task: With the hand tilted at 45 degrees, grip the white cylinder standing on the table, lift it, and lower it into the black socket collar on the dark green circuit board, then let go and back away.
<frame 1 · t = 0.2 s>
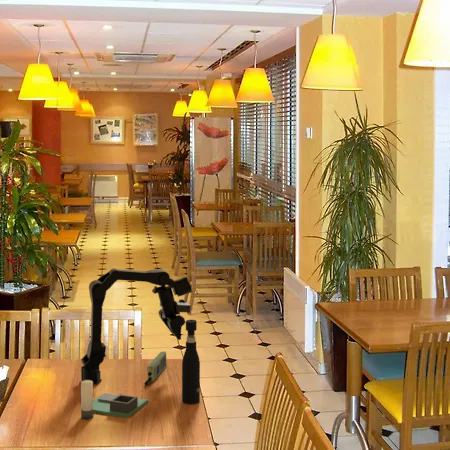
hand: (176, 336, 305), 15 cm above the table, tool pointing down, fingers open, 9 cm apart
handheld radio: (155, 376, 305), on the table
wine bottle: (190, 401, 277), on the table
white cylinder: (87, 417, 261), on the table
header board: (115, 406, 272), on the table
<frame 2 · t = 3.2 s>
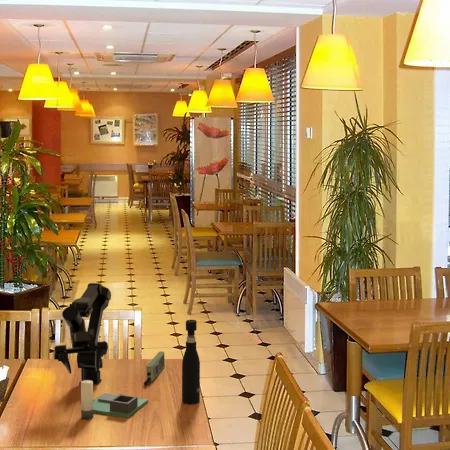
hand: (83, 371, 267), 14 cm above the table, tool tilted 45°, fingers open, 9 cm apart
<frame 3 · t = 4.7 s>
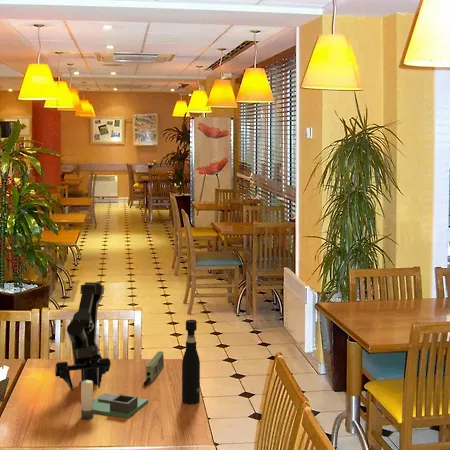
hand: (85, 389, 262), 9 cm above the table, tool tilted 45°, fingers open, 9 cm apart
nothing on the table moved.
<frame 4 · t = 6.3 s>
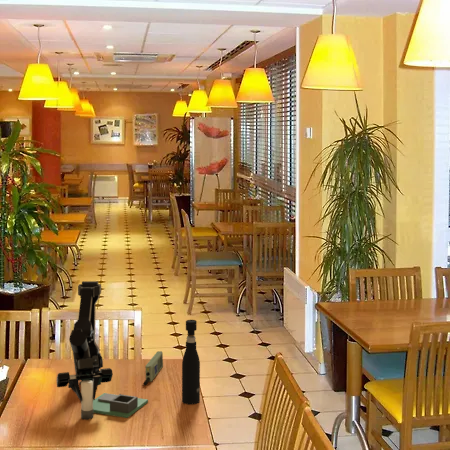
hand: (87, 400, 259), 7 cm above the table, tool tilted 45°, fingers closed on white cylinder, 4 cm apart
white cylinder: (87, 417, 261), on the table, touching gripper
everything else where it was.
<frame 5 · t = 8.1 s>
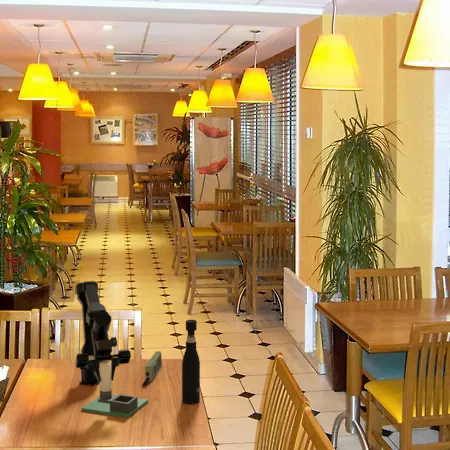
hand: (106, 380, 261), 12 cm above the table, tool tilted 45°, fingers closed on white cylinder, 4 cm apart
white cylinder: (105, 397, 264), point 6 cm above the table, touching gripper
when the fingers open (9 cm above the table, at t = 9.9 s): white cylinder stays where it is, resting on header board.
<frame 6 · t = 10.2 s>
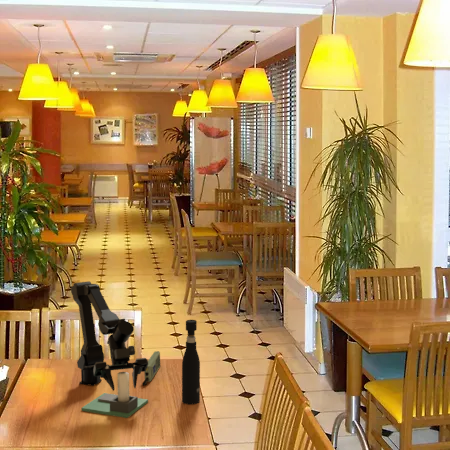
hand: (124, 389, 265), 9 cm above the table, tool tilted 45°, fingers open, 7 cm apart
white cylinder: (123, 408, 267), point 1 cm above the table, touching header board
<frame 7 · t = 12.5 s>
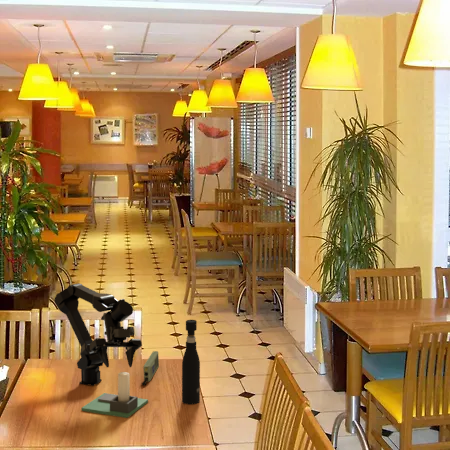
hand: (119, 367, 275), 13 cm above the table, tool tilted 35°, fingers open, 9 cm apart
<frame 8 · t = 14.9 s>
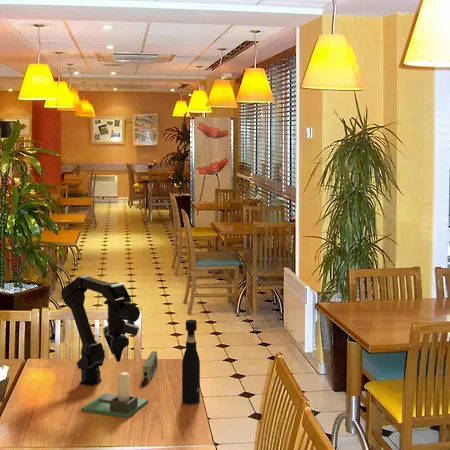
hand: (115, 357, 285), 13 cm above the table, tool pointing down, fingers open, 9 cm apart
at the end: white cylinder 0.0 cm from the target spot on the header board, point 1.0 cm above the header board's base; white cylinder tilted 0°; the gripper is holding nothing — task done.
